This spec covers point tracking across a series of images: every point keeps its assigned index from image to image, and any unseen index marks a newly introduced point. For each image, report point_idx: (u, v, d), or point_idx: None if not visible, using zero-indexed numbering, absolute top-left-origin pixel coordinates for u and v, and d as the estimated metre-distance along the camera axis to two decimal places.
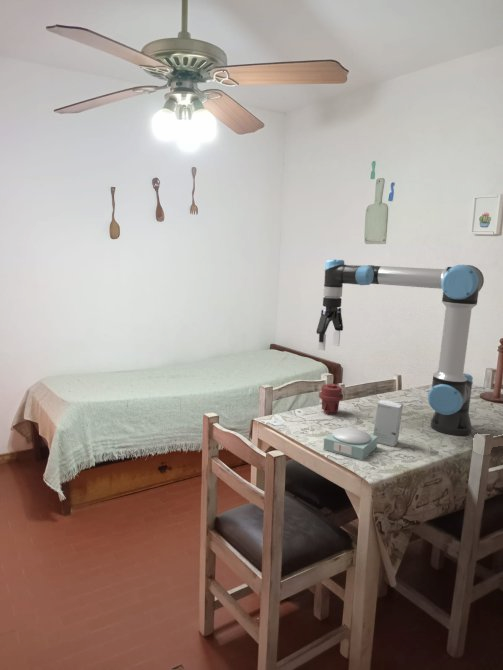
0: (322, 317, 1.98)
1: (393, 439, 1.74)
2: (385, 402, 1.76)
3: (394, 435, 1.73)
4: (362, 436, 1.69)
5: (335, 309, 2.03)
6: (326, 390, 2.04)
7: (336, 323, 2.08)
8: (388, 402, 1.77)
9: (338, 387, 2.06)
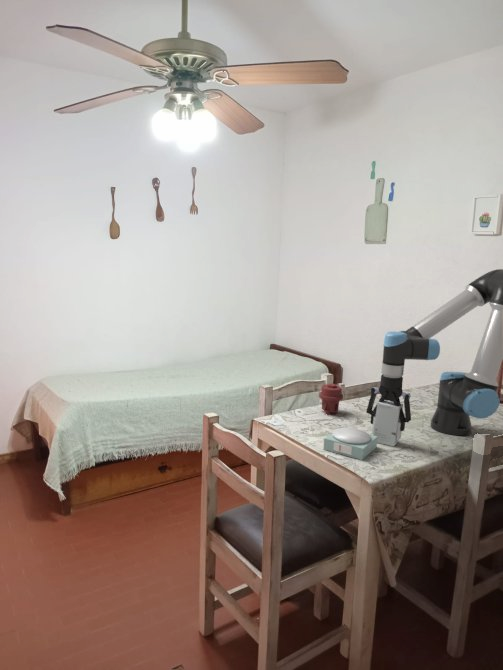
0: None
1: (393, 439, 1.74)
2: (385, 402, 1.76)
3: (394, 435, 1.73)
4: (362, 436, 1.69)
5: (394, 389, 1.73)
6: (326, 390, 2.04)
7: None
8: (388, 402, 1.77)
9: (338, 387, 2.06)
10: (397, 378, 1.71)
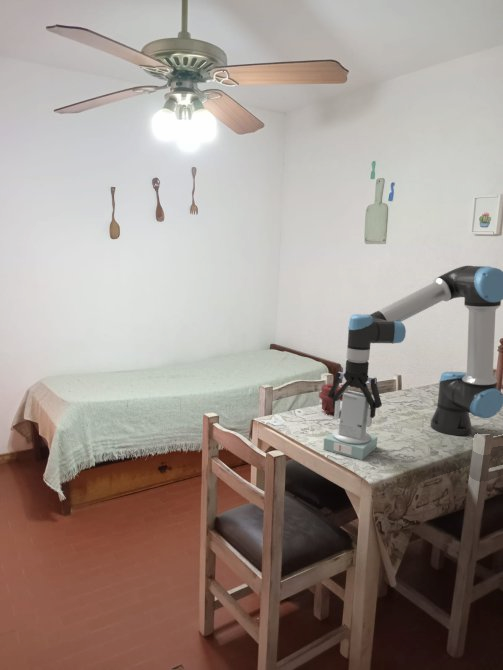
0: None
1: (359, 432, 1.66)
2: (351, 393, 1.68)
3: (360, 428, 1.65)
4: None
5: (359, 375, 1.65)
6: (326, 390, 2.04)
7: None
8: (355, 393, 1.68)
9: (338, 387, 2.06)
10: (362, 363, 1.63)
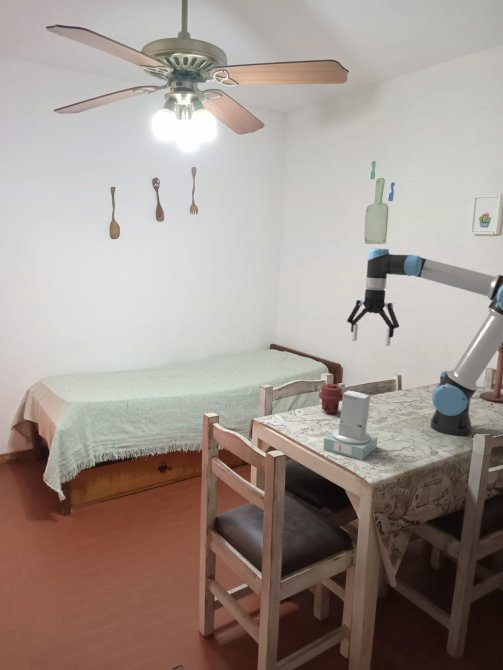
0: None
1: (359, 432, 1.66)
2: (351, 393, 1.68)
3: (360, 428, 1.65)
4: None
5: (376, 302, 1.88)
6: (326, 390, 2.04)
7: None
8: (355, 393, 1.68)
9: (338, 387, 2.06)
10: (380, 290, 1.86)
